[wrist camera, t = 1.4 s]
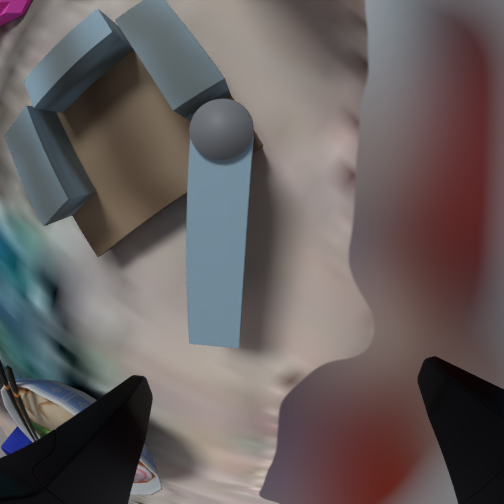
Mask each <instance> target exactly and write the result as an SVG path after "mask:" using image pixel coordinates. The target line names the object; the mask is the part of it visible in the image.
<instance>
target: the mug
mask: <svg viewBox="0 0 504 504" xmlns="http://www.w3.org/2000/svg"><path fill="white" fill-rule="evenodd" d="M31 443H33V442H32V441H31V440H30V439H29V438H28V437H27V436H26V435H25V434H24V433H23V432H22V430H21V429H20V428H19V427H18V426H17V428H16V429H15V430H14V431H13V432H12V434H11V435H10V436H9V437H8V439H7V440H6V441H5V442H4V443H3V445H2V446H1V448H2V450H3V451H4V452H5V454H6V455H8V454H11V453H13V452H15V451H17V450H19V449H21V448H23V447H25V446H27V445H29V444H31Z"/></svg>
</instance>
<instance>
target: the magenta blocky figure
mask: <svg viewBox="0 0 504 504" xmlns="http://www.w3.org/2000/svg"><path fill="white" fill-rule="evenodd" d="M31 1H32V0H0V26H1V25H3V24H5V23H7V22H9V21H11V20H13V19H15V18H18V17H20V16H22V15H24V14H25V13H26V11H27V9H28V7H29V5H30V3H31Z"/></svg>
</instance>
